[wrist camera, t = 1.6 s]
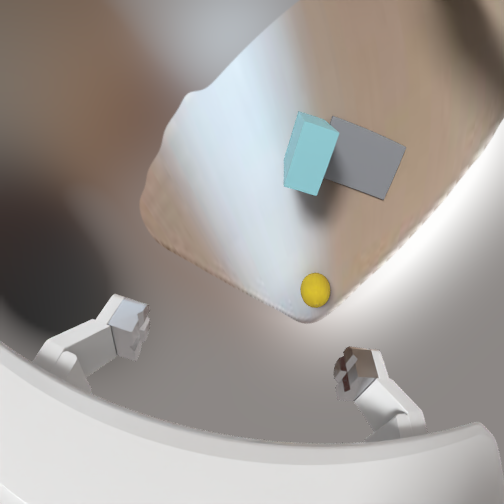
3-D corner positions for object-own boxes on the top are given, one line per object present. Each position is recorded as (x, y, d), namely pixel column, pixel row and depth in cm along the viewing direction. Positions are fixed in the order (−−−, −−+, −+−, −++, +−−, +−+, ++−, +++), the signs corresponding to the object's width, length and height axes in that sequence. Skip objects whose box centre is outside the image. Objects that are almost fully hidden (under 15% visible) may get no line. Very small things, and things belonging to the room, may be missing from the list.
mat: (312, 173, 41) (312, 174, 41) (332, 115, 35) (333, 116, 35) (382, 198, 42) (383, 199, 41) (405, 146, 36) (406, 147, 35)
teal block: (283, 159, 40) (283, 186, 30) (298, 111, 36) (304, 121, 26) (308, 166, 40) (316, 196, 31) (324, 119, 36) (339, 132, 26)
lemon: (301, 263, 51) (303, 292, 45) (330, 265, 51) (335, 294, 44) (298, 285, 54) (299, 314, 48) (325, 287, 54) (328, 316, 47)
